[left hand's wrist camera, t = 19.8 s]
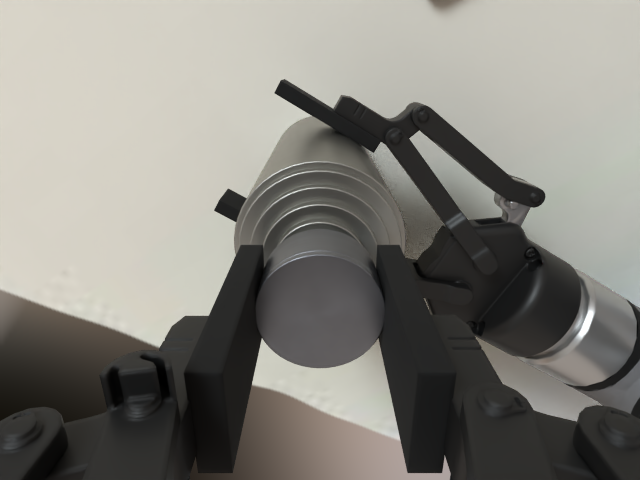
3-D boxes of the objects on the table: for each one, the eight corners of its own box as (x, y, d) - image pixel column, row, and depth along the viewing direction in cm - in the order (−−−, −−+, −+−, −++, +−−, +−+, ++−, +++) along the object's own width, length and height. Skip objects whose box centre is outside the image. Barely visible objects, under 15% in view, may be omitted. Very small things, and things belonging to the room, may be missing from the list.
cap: (239, 279, 15) (226, 312, 13) (322, 204, 14) (322, 227, 12) (317, 348, 16) (317, 388, 14) (400, 283, 15) (412, 317, 13)
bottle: (330, 223, 35) (343, 423, 15) (256, 173, 33) (165, 325, 14) (384, 152, 33) (481, 279, 13) (308, 95, 31) (289, 143, 12)
